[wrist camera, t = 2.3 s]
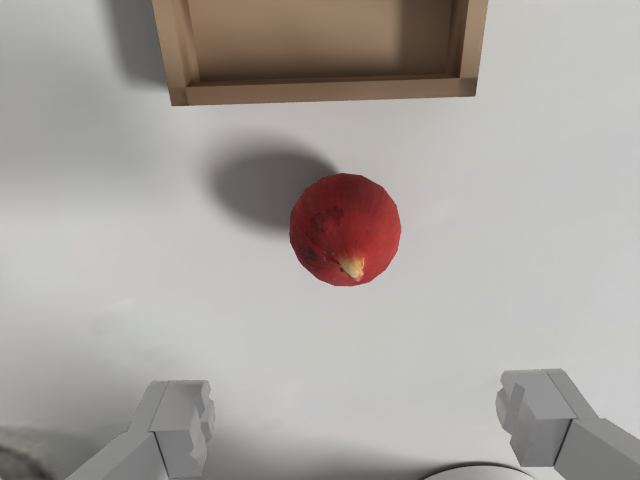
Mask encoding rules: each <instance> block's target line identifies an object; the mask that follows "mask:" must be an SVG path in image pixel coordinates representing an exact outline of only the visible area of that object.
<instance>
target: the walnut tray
mask: <svg viewBox="0 0 640 480" xmlns="http://www.w3.org/2000/svg"><path fill="white" fill-rule="evenodd" d="M152 5H153V11H154V16H155V21H156V26H157V32H158V37H159V42H160V47H161V53H162V58H163V63H164V68H165V74H166V79H167V84H168V89H169V95H170V100H171V105H172V106H192V105H223V104H254V103H285V102H316V101H347V100H378V99H409V98H440V97H471V96H475V95H476V87H477V80H478V72H479V65H480V58H481V50H482V43H483V35H484V28H485V21H486V13H487V6H488V0H152Z"/></svg>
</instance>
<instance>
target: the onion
mask: <svg viewBox="0 0 640 480" xmlns="http://www.w3.org/2000/svg"><path fill="white" fill-rule="evenodd" d="M400 234H401V224H400V219H399V215H398V210H397V206H396V204H395V203H394V201H393V200H392V199H391V197H390V196H389V195H388V193H387V192H386V191H385V189H384V188H383V187H382V186H380V185H378V184H376V183H374V182H373V181H371V180H369V179H367V178H365V177H363V176H361V175H353V174H345V173H341V174H336V175H332V176H328V177H324V178H322V179H320V180H319V181H317V182H316V183H314V184H313V185H311V186H310V187H308V188H307V189H306V190H305V191H304V193H303V194H302V196H301V197H300V199H299V200H298V202H297V203H296V205H295V206H294V208H293V210H292V212H291V219H290V233H289V236H290V243H291V245H292V247H293V249H294V251H295V254H296V256H297V258H298V260H299V261H300V263H301V264H302V265H303V266H304V267H305V268H306V269H307V270H308V271H309V272H311V273H312V274H313V275H314V276H315V277H316V278H318V279H319V280H321V281H324V282H326V283H329V284H331V285H334V286H356V285H360V284H364V283H368V282H370V281H371V280H373V279H374V278H375V277H377V276H378V275H379V274H381V273H382V272H383V271H385V270H386V268H387V267H388V265H389V264H390V262H391V260H392V259H393V257H394V256H395V254H396V252H397V250H398V245H399V240H400Z"/></svg>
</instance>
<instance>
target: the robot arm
mask: <svg viewBox="0 0 640 480" xmlns="http://www.w3.org/2000/svg"><path fill="white" fill-rule="evenodd" d="M500 381H501V383H502V385H503V388H502V389H501V390H500V391H498V392H497V397H496V412H497V415H498V419H499V421H500V423H501V426H502V428H503V429H504V430H506V431H507V432H508V433H509V434H511V435H512V437H511V440H510V445H511V447H512V449H513V451H514V453H515V455H516V457H517V460H518V462H519V464H520V466H521V467H554V469H555V470H556V471H557V472H558V473H559V474H560V475H562V476H563V477H564V478H565V479H566V480H640V440H639V439H637V438H636V437H634V436H632V435H631V434H629V433H628V432H626V431H625V430H623V429H621V428H620V427H618V426H617V425H615V424H613V423H612V422H610V421H609V420H607V419H605V418H599V417H598V416H597V414H596V413H595V412H594V410H593V409H592V407H591V406H590V405H589V403H588V402H587V401H586V399H585V398H584V397H583V395H582V394H581V393H580V391H579V390H578V388H577V387H576V386H575V384H574V383H573V382H572V380H571V379H570V378H569V376H568V375H567V374H566V372H565V371H563V370H562V369H542V370H540V369H535V370H511V371H504V372H503V374H502V376H501V380H500ZM210 390H211V389H210V385H209V381H206V380H180V381H152V382H151V383H150V384H149V385H148V387H147V389H146V391H145V393H144V396H143V398H142V400H141V402H140V404H139V406H138V409H137V411H136V413H135V415H134V417H133V419H132V421H131V424H130V426H129V428H128V430H127V432H126V433H120V434H119V435H118V436H117V437H115V438H114V439H113V440H112V441H111V442H109V443H108V444H107V445H106V446H105V447H103V448H102V449H101V450H100V451H99V452H97V453H96V454H95V455H94V456H93V457H91V458H90V459H89V460H88V461H87V462H85V463H84V464H83V465H82V466H81V467H79V468H78V469H77V470H76V471H75V472H73V473H72V474H71V475H70V476H69V477H67V478H66V479H65V480H169V478H183V477H200V476H202V473H203V469H204V465H205V461H206V457H207V453H208V452H207V447H206V442H207V441H208V440H209V439H210V438H211V437H212V433H213V428H214V420H215V409H214V403H213V401H212V400H211V399H210V398H209V394H210ZM424 480H535V479H533V478H532V477H530V476H528V475H526V474H524V473H522V472H519V471H516V470H513V469H509V468H504V467H496V466H469V467H462V468H456V469H451V470H447V471H444V472H441V473H438V474H435V475H432V476H430V477H428V478H426V479H424Z"/></svg>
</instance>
